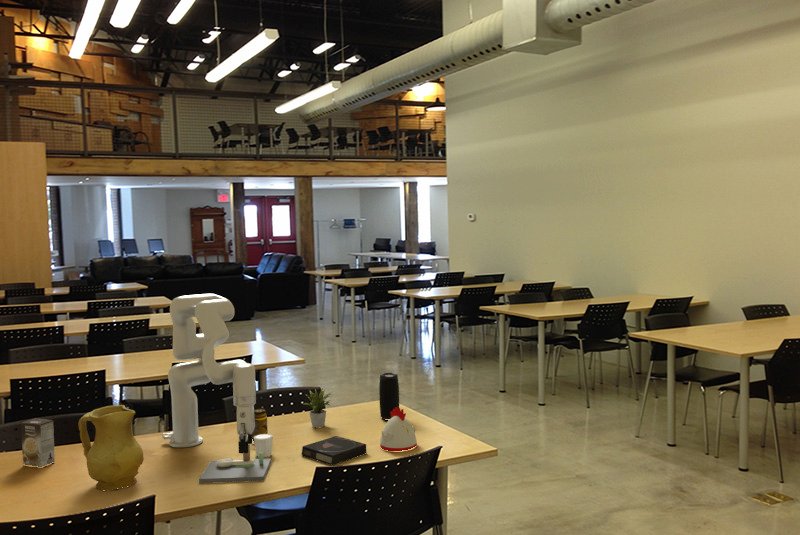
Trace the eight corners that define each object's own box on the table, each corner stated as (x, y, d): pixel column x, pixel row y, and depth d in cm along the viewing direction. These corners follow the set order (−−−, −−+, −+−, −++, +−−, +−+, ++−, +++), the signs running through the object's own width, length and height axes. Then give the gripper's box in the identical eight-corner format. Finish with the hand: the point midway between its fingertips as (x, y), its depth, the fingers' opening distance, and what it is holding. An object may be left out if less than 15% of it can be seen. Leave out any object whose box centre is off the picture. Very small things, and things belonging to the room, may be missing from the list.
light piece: (214, 467, 230) (214, 449, 230) (218, 462, 236) (217, 444, 235) (252, 466, 231) (252, 447, 230) (255, 460, 236) (254, 442, 236)
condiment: (272, 440, 267) (271, 410, 266) (253, 445, 261) (252, 414, 260) (262, 436, 272) (261, 407, 271) (243, 441, 266) (242, 411, 265)
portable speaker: (381, 422, 289) (379, 376, 288) (379, 416, 298) (378, 372, 297) (400, 421, 290) (399, 376, 289) (398, 415, 299) (397, 371, 298)
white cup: (257, 459, 244) (256, 440, 244) (252, 453, 250) (251, 435, 250) (275, 455, 247) (275, 437, 247) (270, 450, 253) (269, 432, 253)
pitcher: (109, 497, 210) (106, 418, 209) (74, 487, 220) (70, 411, 219) (155, 480, 225) (152, 406, 224) (120, 470, 235) (117, 399, 233)
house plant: (333, 431, 276) (332, 392, 275) (300, 432, 276) (298, 392, 276) (337, 422, 290) (336, 384, 290) (305, 422, 291) (304, 385, 290)
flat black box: (301, 457, 246) (301, 446, 246) (336, 446, 259) (336, 435, 258) (331, 467, 235) (331, 456, 235) (366, 454, 247) (366, 444, 247)
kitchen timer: (396, 455, 245) (395, 414, 245) (372, 446, 256) (371, 407, 255) (424, 446, 254) (423, 407, 254) (400, 438, 265) (399, 401, 264)
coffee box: (21, 466, 241) (19, 422, 240) (36, 461, 247) (34, 417, 246) (41, 469, 238) (39, 424, 237) (56, 463, 244) (54, 419, 243)
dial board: (198, 483, 221) (198, 466, 221) (211, 464, 239) (211, 449, 238) (263, 480, 222) (263, 464, 222) (271, 462, 240) (270, 447, 239)
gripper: (252, 406, 224) (253, 456, 225) (258, 393, 242) (259, 440, 243) (229, 406, 224) (230, 457, 225) (237, 393, 241) (238, 440, 242)
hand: (245, 448), depth 234 cm, fingers open, 9 cm apart
